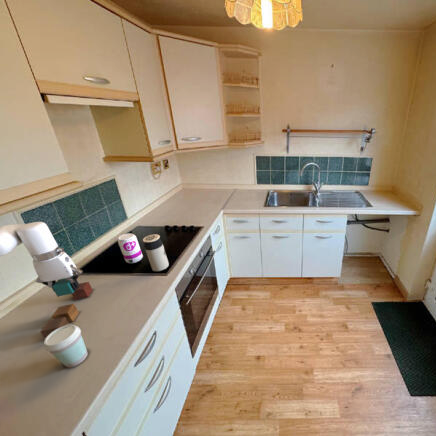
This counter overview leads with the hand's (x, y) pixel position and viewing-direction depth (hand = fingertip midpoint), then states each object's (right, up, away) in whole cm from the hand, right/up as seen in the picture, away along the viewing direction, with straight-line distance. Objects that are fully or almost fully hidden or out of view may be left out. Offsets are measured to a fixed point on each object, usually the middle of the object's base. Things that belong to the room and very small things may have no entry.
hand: (68, 290), depth 94 cm
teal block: (0, 0, 0) cm, 0 cm away
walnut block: (+5, -14, -8) cm, 17 cm away
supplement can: (+4, +6, +34) cm, 35 cm away
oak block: (+2, -11, -2) cm, 11 cm away
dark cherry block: (-2, -5, +10) cm, 11 cm away
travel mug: (+22, +3, +28) cm, 36 cm away
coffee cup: (+20, -18, -17) cm, 32 cm away
